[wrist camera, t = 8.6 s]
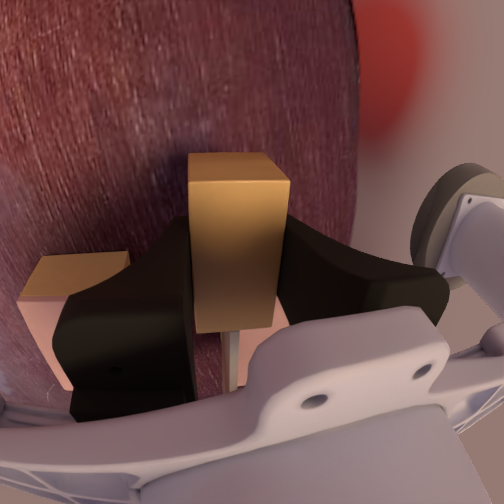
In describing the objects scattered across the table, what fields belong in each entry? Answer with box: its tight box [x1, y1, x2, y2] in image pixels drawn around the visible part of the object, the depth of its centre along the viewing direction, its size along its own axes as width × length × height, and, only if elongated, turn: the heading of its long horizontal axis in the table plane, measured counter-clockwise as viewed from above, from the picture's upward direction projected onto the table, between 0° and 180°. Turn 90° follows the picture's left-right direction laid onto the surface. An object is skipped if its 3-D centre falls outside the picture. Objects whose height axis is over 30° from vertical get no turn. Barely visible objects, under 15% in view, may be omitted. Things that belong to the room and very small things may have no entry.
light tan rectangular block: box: [221, 295, 290, 386], centre depth 19 cm, size 4×8×4 cm, turn 176°
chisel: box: [188, 152, 290, 394], centre depth 14 cm, size 15×3×4 cm, turn 177°
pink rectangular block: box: [16, 251, 131, 391], centre depth 17 cm, size 6×8×4 cm
